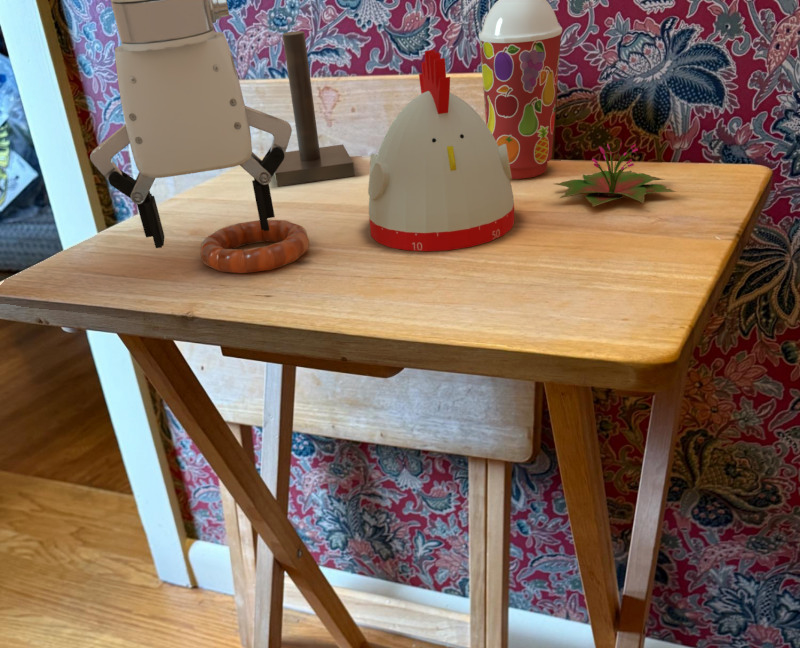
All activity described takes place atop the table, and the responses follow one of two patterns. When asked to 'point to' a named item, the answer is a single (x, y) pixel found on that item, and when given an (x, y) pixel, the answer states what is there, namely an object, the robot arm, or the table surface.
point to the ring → (257, 259)
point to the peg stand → (307, 126)
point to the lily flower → (613, 182)
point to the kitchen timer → (439, 173)
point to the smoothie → (521, 81)
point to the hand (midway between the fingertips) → (212, 234)
